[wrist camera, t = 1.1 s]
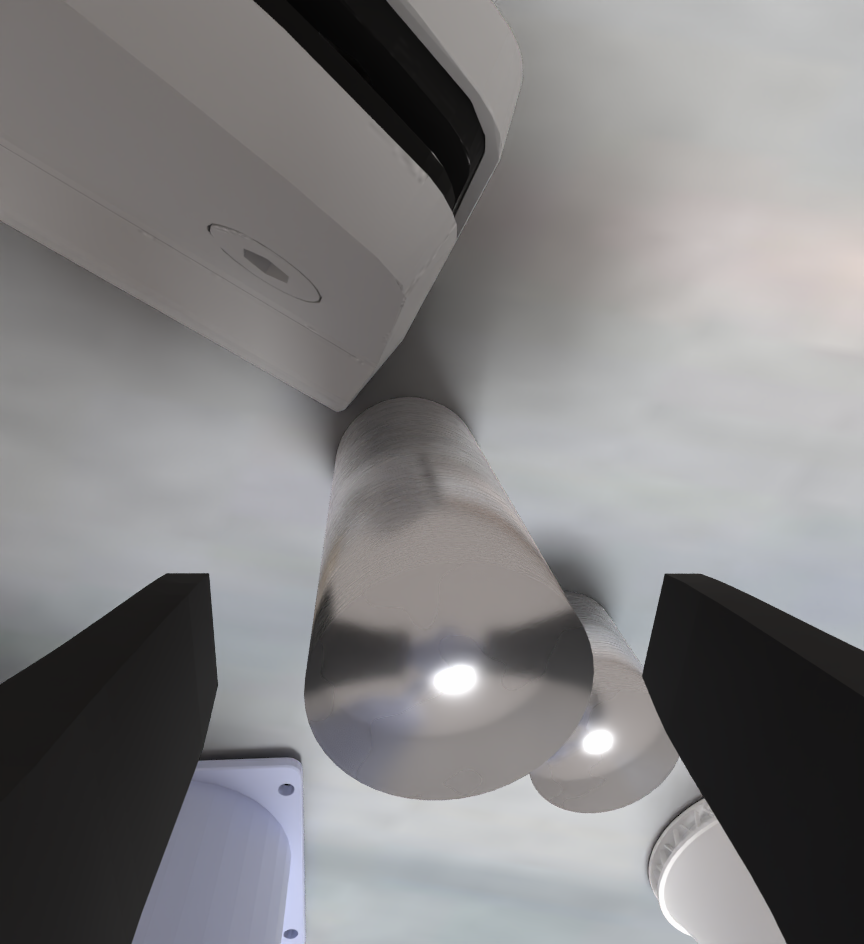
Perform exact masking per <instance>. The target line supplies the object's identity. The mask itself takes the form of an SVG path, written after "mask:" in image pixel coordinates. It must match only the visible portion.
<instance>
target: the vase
mask: <svg viewBox="0 0 864 944" xmlns="http://www.w3.org/2000/svg"><path fill="white" fill-rule="evenodd" d="M648 873H649V881H650V884H651V887H652V890H653V892H654V894H655V896H656V897H657V899H658V901H659V905H660V907H661V910H662V912H663V914H664V916H665V917H666V919H667V920H668V921H669V922H670V923H671V924H672V925H673V926H674V927H675V928H676V929H678V930H679V931H681V932H683V933H685V934H687V935H690V936H692V937H693V938H694V939H695V940H696V941H697V943H698V944H786V942H785V939H784V937H783V935H782V933H781V931H780V929H779V927H778V925H777V923H776V921H775V919H774V917H773V915H772V913H771V911H770V909H769V907H768V905H767V904H766V902H765V900H764V898H763V896H762V894H761V893H760V891H759V889H758V887H757V885H756V884H755V882H754V880H753V878H752V876H751V875H750V873H749V871H748V870H747V868H746V866H745V865H744V863H743V861H742V860H741V858H740V856H739V855H738V853H737V851H736V850H735V848H734V846H733V845H732V843H731V841H730V840H729V838H728V836H727V835H726V833H725V831H724V830H723V828H722V826H721V825H720V823H719V821H718V820H717V818H716V816H715V815H714V813H713V811H712V810H711V808H710V807H709V805H708V803H707V802H706V800H705V798H704V799H702V800H700V801H699V802H697V803H695V804H694V805H692V806H691V807H689V808H688V809H687V810H685V811H684V812H683V813H682V814H680V815H679V816H678V817H677V818H676V819H675V820H674V821H673V822H672V823H671V824H670V825H669V826H668V827H667V828H666V830H665V831H664V832H663V833H662V835H661V836H660V838H659V839H658V841H657V843H656V845H655V847H654V849H653V851H652V854H651V857H650V861H649V869H648Z"/></svg>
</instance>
